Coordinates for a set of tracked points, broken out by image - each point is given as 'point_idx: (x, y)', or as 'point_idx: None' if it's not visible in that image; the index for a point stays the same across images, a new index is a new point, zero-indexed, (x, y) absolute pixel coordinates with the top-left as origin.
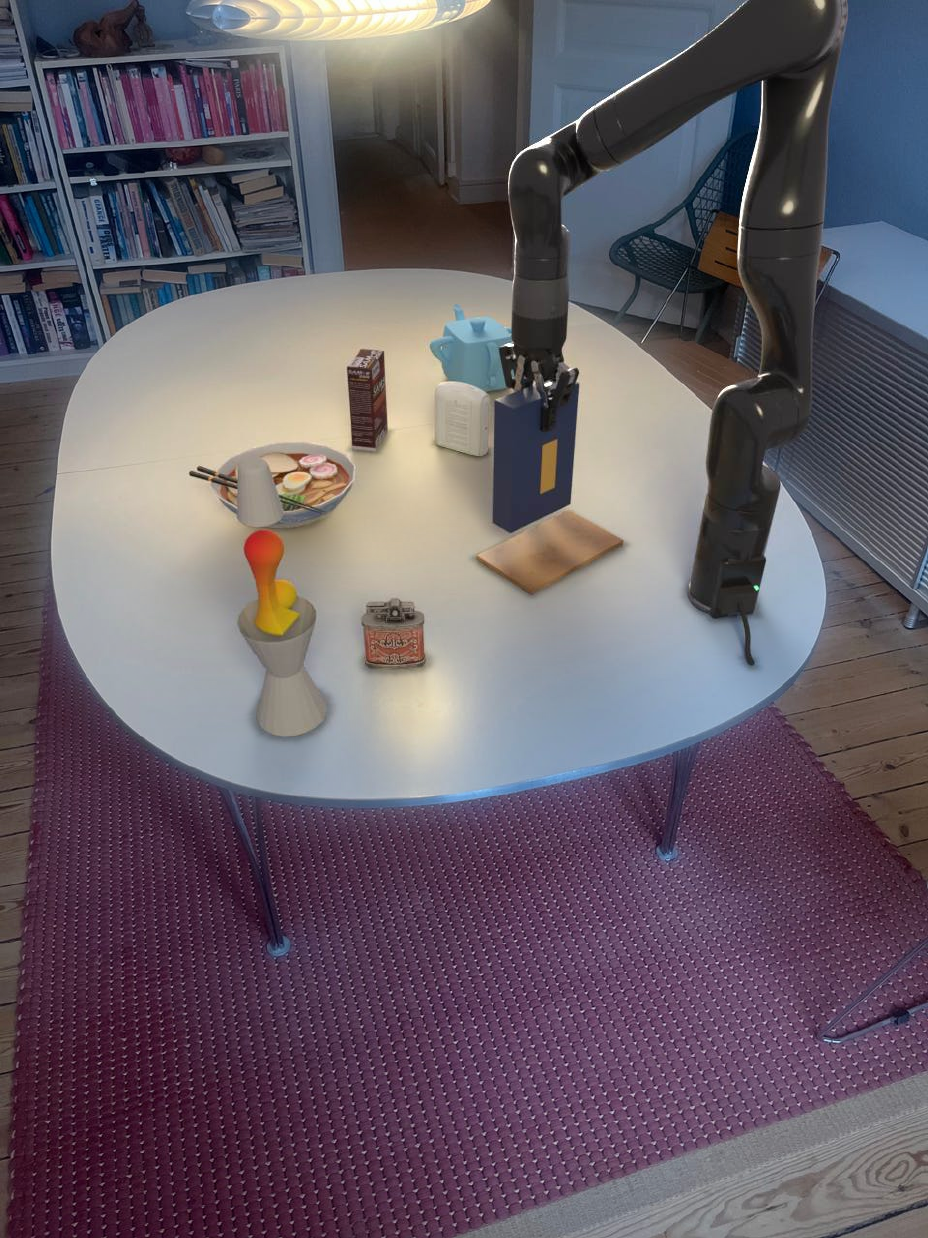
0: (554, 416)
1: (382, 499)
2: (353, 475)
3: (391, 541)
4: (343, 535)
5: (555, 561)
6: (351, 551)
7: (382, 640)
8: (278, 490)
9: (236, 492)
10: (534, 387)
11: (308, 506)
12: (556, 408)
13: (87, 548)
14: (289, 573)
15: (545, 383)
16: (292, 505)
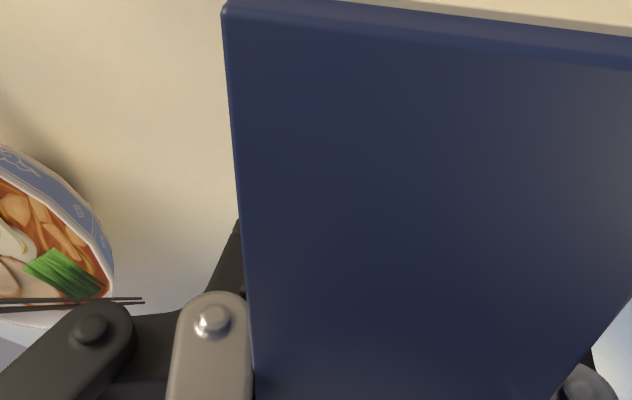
0: None
1: (42, 56)
2: (27, 193)
3: (204, 154)
4: (138, 185)
5: None
6: (191, 208)
7: None
8: (12, 254)
9: (2, 292)
10: (303, 397)
11: (112, 300)
12: (592, 366)
13: (23, 334)
14: (192, 279)
15: (312, 318)
16: (76, 276)
